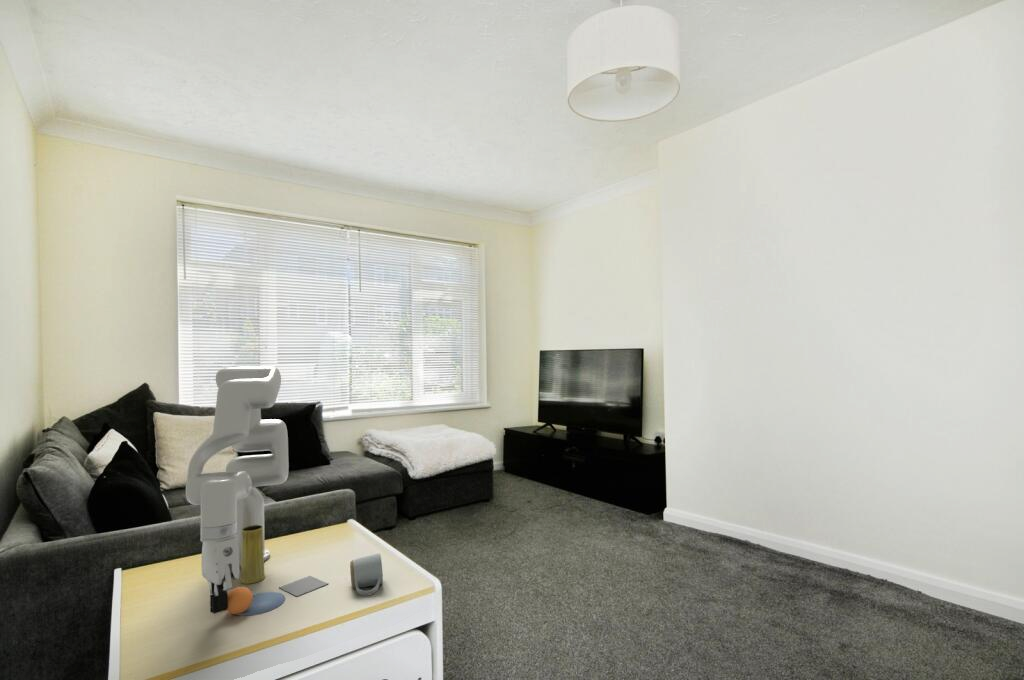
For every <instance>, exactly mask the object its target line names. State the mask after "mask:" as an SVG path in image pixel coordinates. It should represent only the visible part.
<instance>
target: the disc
mask: <svg viewBox="0 0 1024 680" xmlns="http://www.w3.org/2000/svg"><path fill="white" fill-rule="evenodd" d="M252 596H253V599H252V603H251V605H250V607H249V608H248V609H247V610H246V611H245V612H243V613H241V614H236V616H247V617H248V616H255V615H261V614H265V613H268V612H270V611H272V610H275V609H277V608H279V607H280V606H282V604H284V603H285V601H286V596H285V595H284V594H283V593H281V592H277V591H265V592H264V591H263V592H259V593H255V594H252Z"/></svg>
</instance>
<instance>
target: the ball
mask: <svg viewBox="0 0 1024 680" xmlns="http://www.w3.org/2000/svg"><path fill="white" fill-rule="evenodd" d="M252 595H253V593H252V591H251V590H250V589H249V588H248V587H247V586H246V587H245V586H238V587H235V588H233V589H232V590H231V589H230V590H229V591H228V608H227V610H226V612H228V613H229V614H231V615H237V614H241V613H243V612H245V611H246V610H247V609H248V608H249V607H250V605H251V603H252V599H253V596H252Z"/></svg>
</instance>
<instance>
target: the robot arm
mask: <svg viewBox="0 0 1024 680" xmlns="http://www.w3.org/2000/svg"><path fill="white" fill-rule="evenodd" d="M215 383H216V386H217V389H218V390H217V394H216V402H215V403H216V404H215V411H214V420H213V430H212V433H211V434H210V436H209V437H208V438H207V439H205V440H204V441H202V443H201V444H200V445H199V446H198V448H197V449H196V450H195V452H194V453H193V455H192V456H191V459H190V461H189V464H188V467H187V475H186V483H185V497H186V500H187V502H188V503H190V504H191V505H194V506H200V542H201V543H202V547H201V575H202V578H204V579H205V580H206V581H207V582H208V584H209V585H208V588H209V594H210V596H209V597H210V600H209V604H210V605H209V607H210V608H209V611H210V613H211V614H214V615H215V614H218V613H221V612H223V611H227V608H228V593H229V590H231V589H232V588H233V586H232V579H233V580H234V581H235V580H239V578H240V568H241V561H242V529H243V528H244V527H247V526H252V525H262V526H263V560H264V562H265V561H266V560H268V559H270V556H271V551H270V550H269V549H267V548H265V547H266V546H265V499H264V496H263V495H262V493H261V492H260V491H259V490H258V489H257V487H265V486H274V485H275V486H276V485H281V484H283V483H285V482H287V480H288V477H289V467H290V465H289V464H290V463H289V437H288V429H287V425H286V423H285V422H284V421H283V420H281V419H276V418H274V419H272V418H270V419H262V413H261V409H270V408H272V407H273V406H274V405H275V404H276V401H277V398H278V395H279V391H280V388H281V383H282V375H281V372H280V370H279V369H278V368H277V367H275V366H270V365H269V366H267V365H265V366H262V365H261V366H232V367H231V366H230V367H225V368H221V369H219V370H217V372H216V374H215ZM229 447H231V448H232V450H234V451H235V452H238V453H254V452H264V451H265V452H266V451H269V452H271V453H267V454H251V455H250V454H249V455H242V456H236V457H235V458H234V457H233V458H232V459H230V460H229V461H228V463H227V464H226V467H225V471H219V472H207V473H205V472H204V473H203V470H204V467H205V465H206V463H207V462H208V461H209V460H210V459H211V458H212V457H213V456H215V455H216V454H218V453H219V452H221V451H223V450H225V449H227V448H229Z"/></svg>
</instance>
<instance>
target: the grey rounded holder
mask: <svg viewBox="0 0 1024 680" xmlns="http://www.w3.org/2000/svg"><path fill="white" fill-rule="evenodd" d="M381 557H382V556H381V553H375V554H372V555H367V556H363V557H358V558H355V559H352V560H351V561H350V563H349V568H350V583H351V587H352V588H353V589H355V590H356V592H357V594H359V595H361V596H365V595H366V596H370V595H369V594H371V595H373V594H375V593H376V592H377V591H378V589H379V587H380V585H383V582H384V577H383V576H384V575H383V574H384V573H383V563H382V558H381ZM371 586H372V587H373V586H374V587H373V588H372V589H368V590H362V588H366V587H371ZM372 593H373V594H372Z"/></svg>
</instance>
